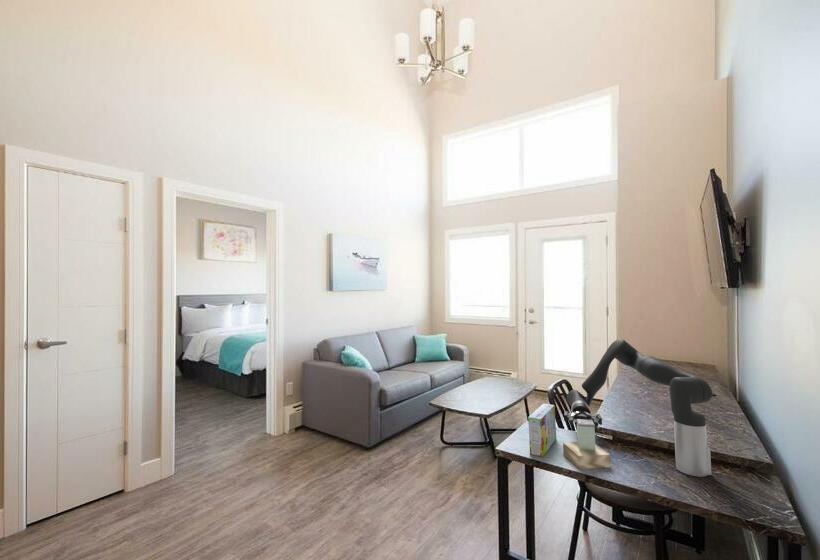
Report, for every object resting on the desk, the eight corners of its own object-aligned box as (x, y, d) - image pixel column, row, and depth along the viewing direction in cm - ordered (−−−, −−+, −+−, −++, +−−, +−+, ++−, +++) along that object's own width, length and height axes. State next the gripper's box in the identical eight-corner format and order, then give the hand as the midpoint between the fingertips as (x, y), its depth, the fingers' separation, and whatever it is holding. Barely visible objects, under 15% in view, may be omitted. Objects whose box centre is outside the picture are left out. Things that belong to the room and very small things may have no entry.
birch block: (592, 453, 147) (592, 441, 147) (610, 468, 135) (610, 454, 135) (563, 455, 146) (563, 442, 147) (579, 469, 134) (578, 456, 135)
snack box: (543, 436, 164) (542, 402, 165) (557, 439, 161) (555, 404, 162) (528, 454, 147) (527, 416, 148) (542, 457, 144) (541, 418, 144)
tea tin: (577, 444, 144) (576, 418, 145) (593, 446, 143) (592, 420, 143) (579, 450, 139) (578, 423, 139) (595, 452, 137) (594, 425, 138)
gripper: (563, 401, 165) (564, 412, 150) (598, 404, 160) (603, 416, 145) (563, 418, 165) (564, 431, 150) (599, 421, 160) (604, 435, 144)
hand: (583, 423), depth 147 cm, fingers open, 8 cm apart
